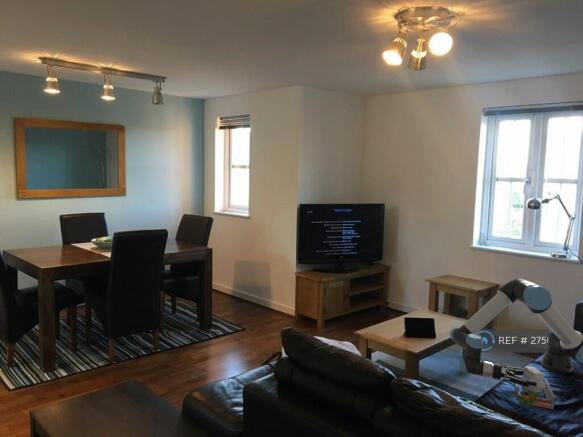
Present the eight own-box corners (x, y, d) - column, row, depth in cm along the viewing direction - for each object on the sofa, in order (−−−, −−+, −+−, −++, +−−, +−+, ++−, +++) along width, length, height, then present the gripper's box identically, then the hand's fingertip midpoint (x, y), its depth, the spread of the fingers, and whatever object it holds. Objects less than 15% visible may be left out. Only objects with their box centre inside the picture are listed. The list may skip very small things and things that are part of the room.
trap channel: (545, 390, 235) (546, 379, 234) (553, 409, 217) (554, 396, 216) (514, 384, 239) (515, 373, 238) (519, 402, 221) (521, 390, 220)
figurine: (537, 412, 213) (539, 395, 212) (507, 404, 218) (509, 388, 217) (537, 409, 216) (539, 392, 214) (508, 401, 221) (510, 385, 220)
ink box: (541, 397, 226) (544, 373, 224) (532, 397, 225) (535, 373, 223) (529, 388, 234) (532, 365, 232) (520, 388, 233) (523, 365, 232)
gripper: (491, 368, 246) (540, 378, 237) (491, 387, 226) (544, 398, 217) (493, 355, 245) (542, 364, 236) (493, 372, 225) (546, 383, 216)
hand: (543, 380), depth 227 cm, fingers closed on ink box, 9 cm apart
